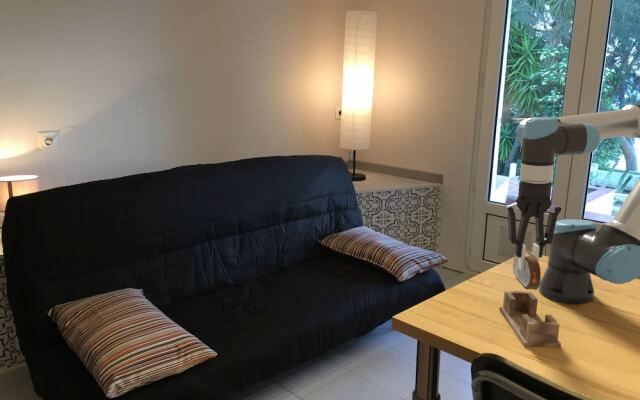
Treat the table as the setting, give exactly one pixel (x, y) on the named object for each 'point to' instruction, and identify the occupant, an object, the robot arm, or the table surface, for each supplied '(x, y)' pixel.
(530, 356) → the table surface
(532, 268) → the tin
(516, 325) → the rack
